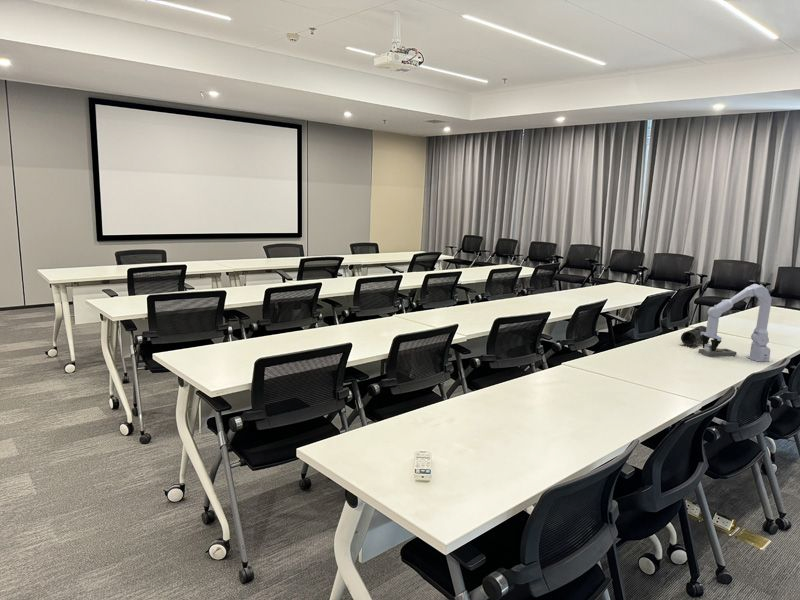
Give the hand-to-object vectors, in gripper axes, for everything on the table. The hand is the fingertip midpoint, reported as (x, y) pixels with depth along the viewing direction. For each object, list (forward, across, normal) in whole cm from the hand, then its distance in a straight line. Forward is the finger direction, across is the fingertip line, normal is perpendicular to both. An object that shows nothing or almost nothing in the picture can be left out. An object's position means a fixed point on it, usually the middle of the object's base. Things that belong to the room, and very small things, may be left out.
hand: (708, 349), depth 320 cm
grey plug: (+3, 0, 0) cm, 3 cm away
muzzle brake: (+3, -25, +11) cm, 28 cm away
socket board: (+3, 0, +6) cm, 7 cm away
